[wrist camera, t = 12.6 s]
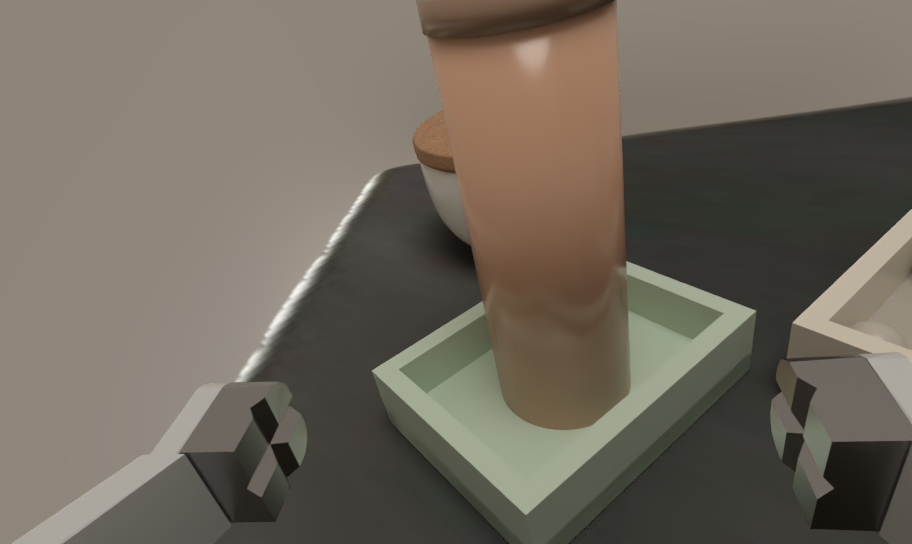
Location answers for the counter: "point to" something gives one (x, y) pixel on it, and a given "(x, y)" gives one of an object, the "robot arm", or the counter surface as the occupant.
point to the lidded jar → (441, 173)
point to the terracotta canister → (541, 193)
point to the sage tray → (565, 451)
